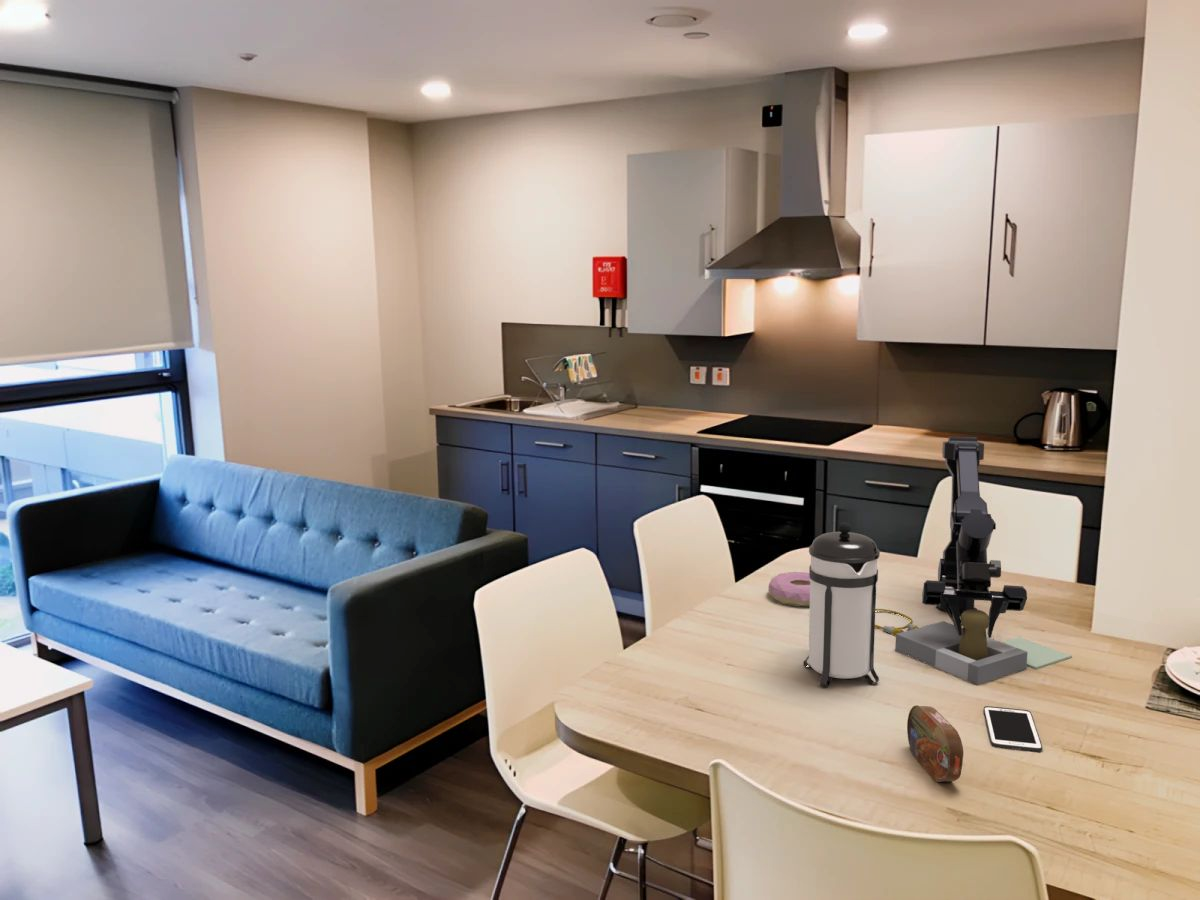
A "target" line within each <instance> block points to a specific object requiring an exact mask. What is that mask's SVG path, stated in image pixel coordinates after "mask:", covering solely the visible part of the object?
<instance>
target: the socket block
mask: <svg viewBox="0 0 1200 900" xmlns="http://www.w3.org/2000/svg"><path fill="white" fill-rule="evenodd" d="M961 628H962V630H963V627H961ZM961 635H962V634H961ZM986 637H987V649H988V657H987V658H984V659H980V660H977V661H976V660H973V659H971V658H968V657H966V656H963V655H961V654H958V650H959V645H960V640H961V636H960V635H958V632H957V630H956V628H955V626H954V624H953V623H950V622H948V621H944V620H942V621H939V622H936V623H932V624H929V625H923V626H921V627H919V628H916V629H913V630H909V629H908V630H905V631H904V632H901V633H898V634H896V636H895V644H894V645H895V646H894V647H895V648H894V651H896V652H898V651H899V652H898V653H900V652H901V653H900V654H903V653H904V654H903V655H905V654H906V655H905V656H907V655H909V656H908V657H910V656H911V657H910V658H912V657H913V659H915V660H917V659H918V661H919V660H920V662H921V663H924V662H925V663H924V664H926V663H927V665H929V666H931V665H932V667H933V666H934V667H935V668H936V669H938V668H939V669H938V670H941V671H944V672H945V671H946V672H945V673H947V674H950V675H952V674H953V676H955V677H957V678H960V679H962V680H965V681H967V682H970V683H972V684H974V685H977V686H978V685H982V684H984V683H988V682H992V681H993V680H996V679H1000V678H1003V677H1005V676H1009V675H1012V674H1016V673H1019V672H1022V671H1024V670H1027V667H1028V666H1027V651H1024V650H1021V649H1018V648H1016V647H1013V646H1010V645H1008V644H1005V643H1002V642H1003V641H999V640H996V639H993V638H988V636H986Z"/></svg>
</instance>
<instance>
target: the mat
mask: <svg viewBox="0 0 1200 900" xmlns="http://www.w3.org/2000/svg"><path fill="white" fill-rule="evenodd" d="M1001 642H1002V643H1005V644H1008V645H1010V646H1013V647H1016V648H1018V649H1021V650H1024V651H1027V667H1030V668H1032V669H1034V670H1038V669H1041V668H1045V667H1047V666H1050V665H1053V664H1056V663H1059V662H1062V661H1065V660H1068V659H1071V658H1073V655H1071V654H1069V653H1065V652H1063V651H1060V650H1057V649H1054V648H1052V647H1049V646H1046V645H1043V644H1041V643H1037V642H1035V641H1032V640H1030V639H1027V638H1025V637H1021V636H1017V637H1014V638H1011V639H1009V640H1004V641H1001Z"/></svg>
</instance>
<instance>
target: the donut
mask: <svg viewBox="0 0 1200 900" xmlns="http://www.w3.org/2000/svg"><path fill="white" fill-rule="evenodd" d="M768 592H769V595H770V597H771V598H773V599H775V600H776V601H777V600H778V602H779V603H781V604H782V603H783V605H787V604H789V605H788V606H793V605H796V606H795V607H800V606H806V607H810V577H809V572H806V571H791V572H790V571H789V572H784V573H783V572H782V573H779V574H776V575H775V576H773V577H772V578H771V580H770V581H769V583H768Z"/></svg>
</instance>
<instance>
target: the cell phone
mask: <svg viewBox="0 0 1200 900" xmlns="http://www.w3.org/2000/svg"><path fill="white" fill-rule="evenodd" d="M983 715H984V718H985V724H986V730H987V734H988V738H989V743H990V746H991V747H993V748H995V749H997V748H998V749H1006V750H1020V751H1023V752H1032V753H1042V752H1043V744H1042V741H1041V737H1040V734H1039V731H1038V729H1037V726H1036V722H1035V720H1034V718H1033V717H1034V716H1033V714H1032V712H1031V711H1030V710H1028V709H1021V708H1012V707H1011V708H1010V707H999V706H991V705H990V706H988V705H987V706H984V707H983Z"/></svg>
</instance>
